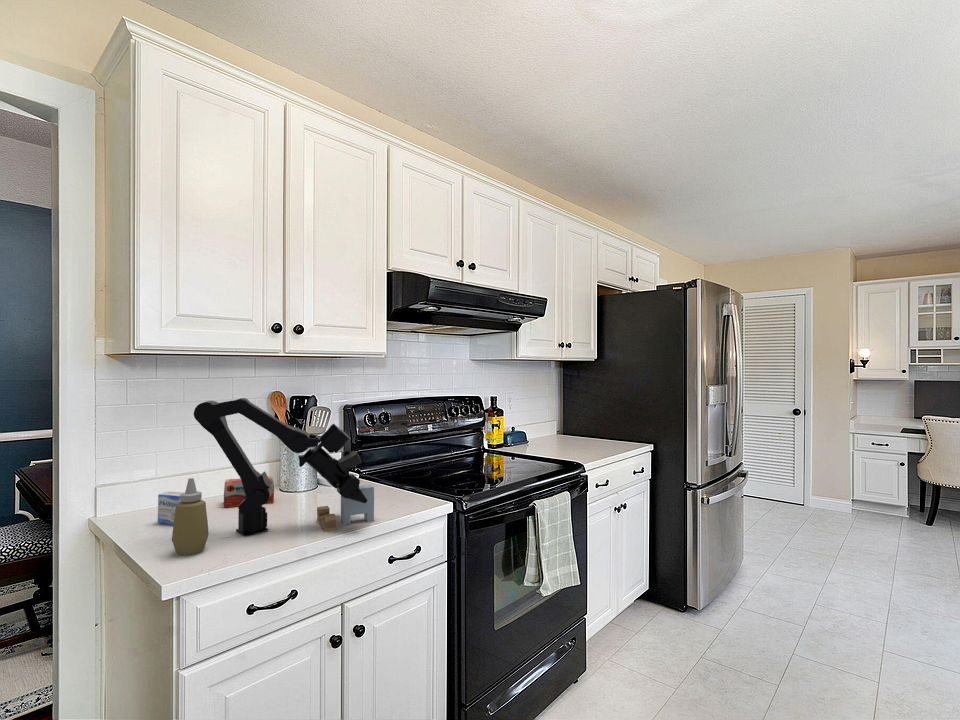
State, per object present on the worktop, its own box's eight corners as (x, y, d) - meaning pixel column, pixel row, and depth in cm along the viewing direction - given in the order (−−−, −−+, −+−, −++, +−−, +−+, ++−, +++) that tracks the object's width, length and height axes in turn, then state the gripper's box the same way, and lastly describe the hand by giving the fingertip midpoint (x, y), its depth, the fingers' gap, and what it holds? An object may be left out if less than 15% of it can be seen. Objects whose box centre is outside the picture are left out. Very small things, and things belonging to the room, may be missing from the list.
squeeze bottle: (173, 560, 122) (173, 483, 122) (169, 550, 129) (170, 477, 129) (211, 552, 127) (212, 479, 127) (206, 543, 133) (206, 473, 133)
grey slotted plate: (343, 524, 149) (343, 490, 149) (340, 521, 152) (340, 487, 152) (373, 520, 153) (374, 487, 154) (370, 517, 157) (370, 484, 157)
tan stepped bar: (336, 530, 144) (336, 516, 144) (325, 532, 143) (325, 517, 143) (327, 519, 155) (327, 505, 155) (317, 520, 153) (317, 507, 153)
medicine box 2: (272, 498, 179) (272, 475, 179) (274, 504, 172) (274, 479, 172) (224, 502, 173) (224, 479, 173) (223, 509, 165) (223, 484, 166)
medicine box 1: (156, 524, 149) (157, 494, 149) (169, 519, 153) (169, 490, 153) (179, 526, 147) (179, 496, 147) (191, 522, 151) (192, 492, 152)
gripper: (352, 447, 143) (390, 483, 148) (337, 439, 160) (372, 471, 165) (323, 479, 139) (363, 514, 144) (311, 466, 156) (347, 499, 161)
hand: (362, 498), depth 154 cm, fingers open, 9 cm apart
